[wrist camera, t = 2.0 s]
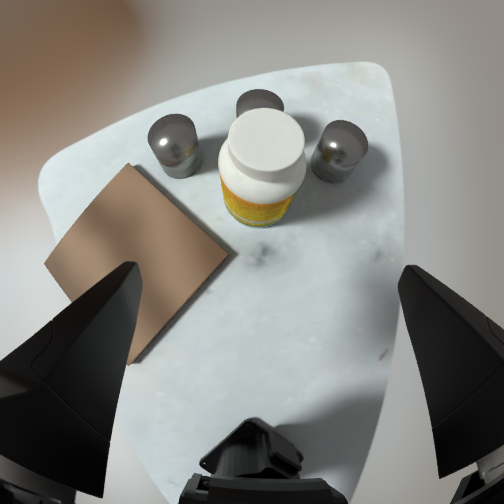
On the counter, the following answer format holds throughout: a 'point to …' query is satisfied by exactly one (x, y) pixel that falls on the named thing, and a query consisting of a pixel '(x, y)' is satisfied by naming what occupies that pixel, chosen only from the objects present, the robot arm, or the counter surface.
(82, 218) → the walnut board
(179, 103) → the counter surface
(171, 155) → the standoff posts
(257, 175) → the supplement bottle
